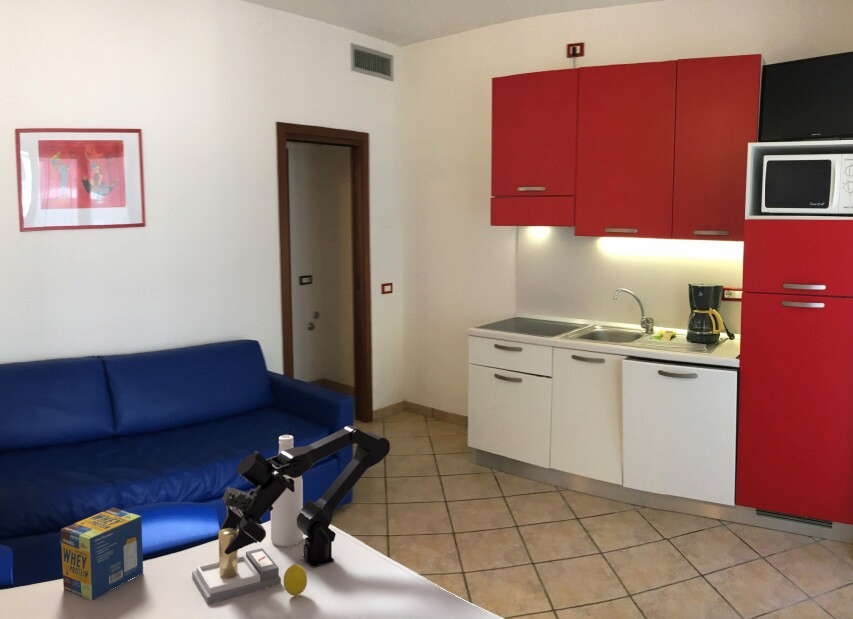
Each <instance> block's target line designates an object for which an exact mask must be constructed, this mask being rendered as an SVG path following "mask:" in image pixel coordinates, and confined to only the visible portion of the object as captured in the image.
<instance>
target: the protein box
mask: <svg viewBox="0 0 853 619" xmlns="http://www.w3.org/2000/svg"><path fill="white" fill-rule="evenodd" d="M142 520H143V518H142V516H141V515H139V514H135V513H131V512H128V511H126V510H122V509H120V508H116V507H111V508H109V509H106V510H104V511H102V512H99V513H97V514H94V515H92V516H90V517H87V518H84V519H82V520H79V521H77V522H75V523H73V524H70V525H67V526H65V527H62V528H60V543H61V544H60V545H61V563H62V564H61V565H62V579H63V581H62V582H63V590H64V591H67V592H70V593H72V594H75V595H77V596H79V597H82V598H84V599H87V600H89V599H90V600H89V601H94V600H95V599H97V598H99V597H101V596H103V595H105V594H107V593H108V591H109V590H111V589H113V588H114V589H116V588H118V587H120V586H122V585H123V584H122V583H124V584H126V583H128V582H129V581H128V580H130V579H132V578H134V577H136V576H137V577H139V576H141V575H143V574H144V560H143V559H144V555H143V552H144V551H143V526H142ZM142 573H143V574H142ZM140 574H141V575H140ZM138 575H139V576H138ZM137 577H136V578H137ZM134 579H135V578H134ZM132 580H133V579H132ZM127 581H128V582H127ZM130 581H131V580H130ZM125 582H126V583H125ZM121 584H122V585H121ZM119 585H120V586H119ZM117 586H118V587H117ZM115 587H116V588H115ZM114 589H113V590H114ZM111 591H112V590H111ZM106 592H107V593H106ZM109 592H110V591H109ZM104 593H105V594H104ZM102 594H103V595H102Z"/></svg>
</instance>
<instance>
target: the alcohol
mask: <svg viewBox="0 0 853 619" xmlns="http://www.w3.org/2000/svg"><path fill="white" fill-rule="evenodd" d="M278 440H279V441H278V445H279V446H278V455H279V454H280V453H281V452H282V451H284V450H287V449H291V448H294V443H295V442H294V436H293V435H289V434H283V435H280V436H279V437H278ZM273 473H274V474H277V473H278V472H276V471H275V470H274V471H273ZM283 476H284V477H286V478H287V479H289V478H292V477H289V476H288V475H283ZM292 479H293V480H294V481H295V483H294V488H295V491H294V492H292V491H290V490H289V489H288V488H287V489H286V490H285V491H284V492H283V493H282V495H281V496H280V497H279V498H278V499H277V500H276V501H275V503H274V504H273V505H272V506H273V510H272V511H270V540H271V542H272V543H273V545H275V546H277V547H282V548H289V546H290V547H294V546H296V544H297V545H298V544H300V543H301V542H302V540H303V538H304V534H303V532H302V531H301V530H300V529H299V528H298V527H297V520H296V519H297V516H298V515H299V510H301V509H302V508H303V507H304V497H303V496H304V493H303V492H304V491H303V490H304V488H303V485H304V484H303V481H304V480H303V475H301V476H300V477H297V478H292ZM299 542H300V543H299ZM293 545H294V546H293Z"/></svg>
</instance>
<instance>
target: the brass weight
mask: <svg viewBox="0 0 853 619" xmlns="http://www.w3.org/2000/svg"><path fill="white" fill-rule="evenodd" d="M218 533H219V538H218V558H219V559H218V561H219V576H220V577H221V578H223V579H230V578H234V577H236V576H237V575H238V556H239V554H238V553H239V552H238V550H236V551H234V552H232V553H230V554H228V555H227V554H226V553H225V552H224V551H225V550H226V548H227V546H228V545H229V544H230V542H231V541H232V539H233V538H234V536H235V535H236V534H237V528H236V529H233V528H226V529H222V530H220V529H219V530H218Z"/></svg>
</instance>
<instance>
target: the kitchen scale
mask: <svg viewBox="0 0 853 619" xmlns="http://www.w3.org/2000/svg"><path fill="white" fill-rule="evenodd" d="M279 570H280V569H279V566H278V564H277V563H275V561H274V559H272V558H271V556H270V555H269V554H268V553H267V552H266V550H265V549H264V548H263V547H261V548H257V549H252V550H249V551H246V552H245V554H243V555H240V556H239V555H238V575H237V576H236V577H234V578H230V579H223V578H221V577H220V576H219V560H218V561H213V562H210V563H205V564H201V565H196V570H193V571H191V572H192V573H191V576H192V580H193V582H194V581H195V582H194V583H195V584H196V586H198V587H197V589H198V590H199V592H200V593H201V595H202V597H203V599H204V598H205V599H204V601H205V602H206V604H212V603H216V602H219V601H222V600H227V599H230V598H234V597H238V596H242V595H245V594H248V593H253V592H257V591H260V590H264V589H268V588H273V587H276V586H279V585H282V577H281V576H280V573H279V572H280V571H279Z"/></svg>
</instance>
